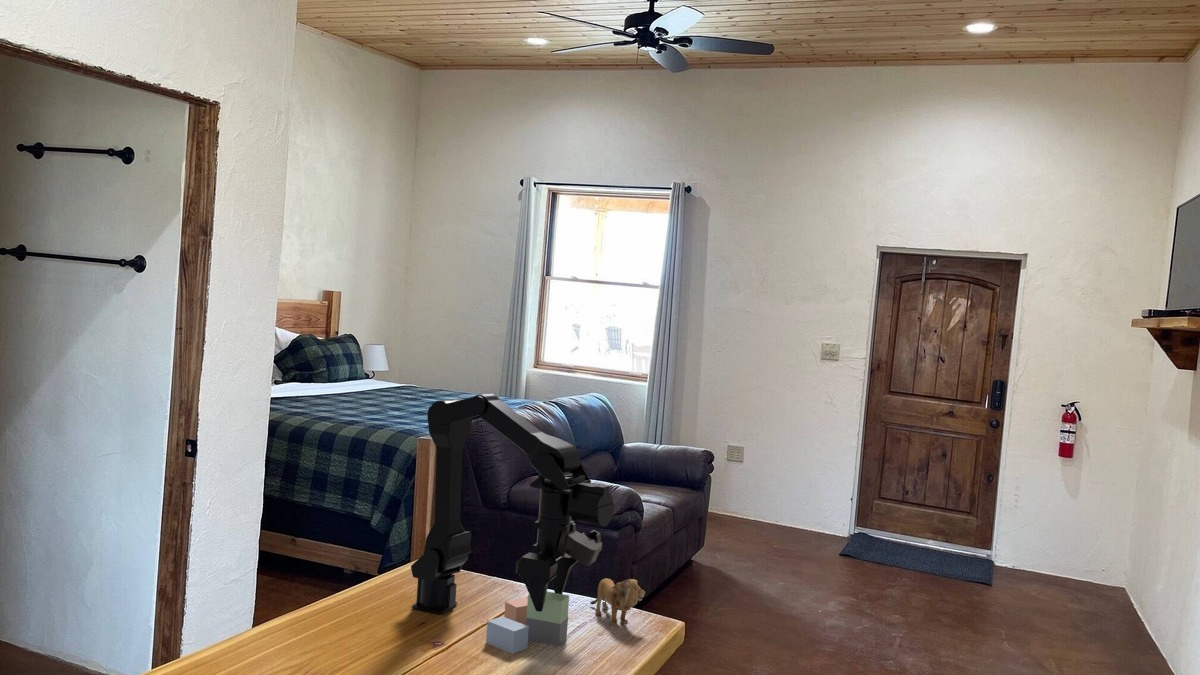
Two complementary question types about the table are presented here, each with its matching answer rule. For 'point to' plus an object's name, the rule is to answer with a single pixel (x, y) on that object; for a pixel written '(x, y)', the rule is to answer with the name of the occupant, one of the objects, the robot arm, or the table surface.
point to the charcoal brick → (547, 631)
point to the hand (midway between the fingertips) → (549, 603)
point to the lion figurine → (618, 597)
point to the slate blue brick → (507, 634)
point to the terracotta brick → (517, 610)
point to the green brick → (550, 608)
